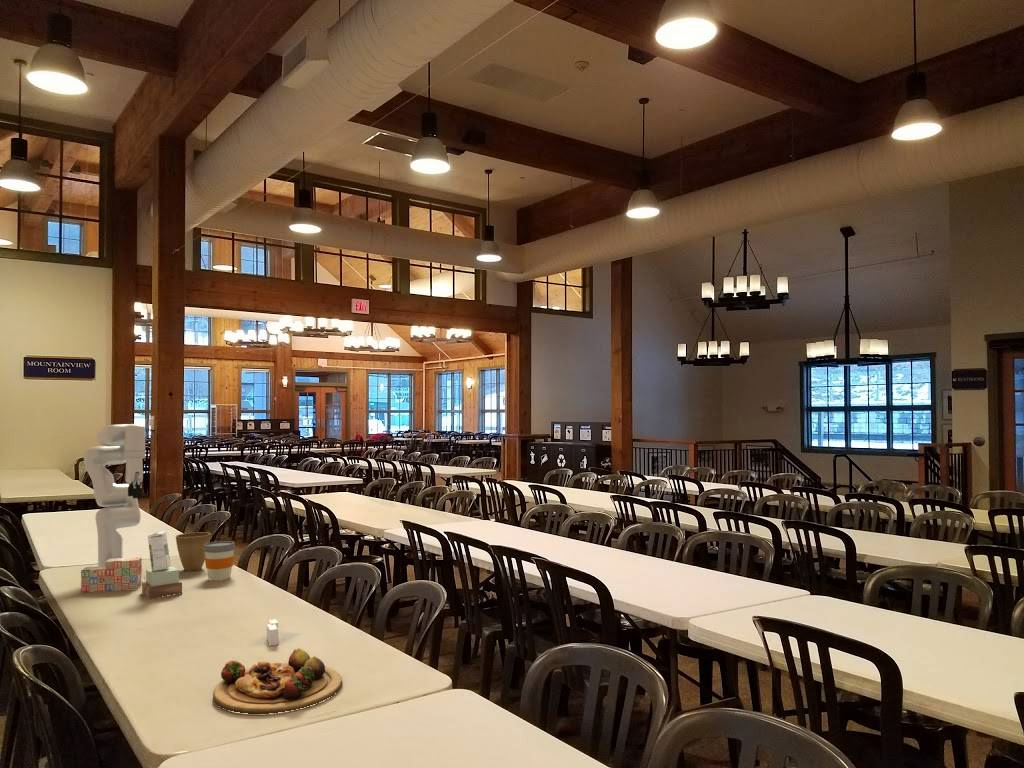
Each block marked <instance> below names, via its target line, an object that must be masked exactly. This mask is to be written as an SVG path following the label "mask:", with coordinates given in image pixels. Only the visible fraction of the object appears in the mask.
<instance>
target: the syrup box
mask: <svg viewBox="0 0 1024 768" xmlns="http://www.w3.org/2000/svg"><path fill="white" fill-rule="evenodd" d="M147 542H148V549H149V557H150V566H151V569H152V571H158V570H163V569H167V568H168V567H170V566H171V559H170V553H169V552H170V550H169V543H168V537H167V531H157V532H153V533H150V534H148V535H147Z"/></svg>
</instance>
